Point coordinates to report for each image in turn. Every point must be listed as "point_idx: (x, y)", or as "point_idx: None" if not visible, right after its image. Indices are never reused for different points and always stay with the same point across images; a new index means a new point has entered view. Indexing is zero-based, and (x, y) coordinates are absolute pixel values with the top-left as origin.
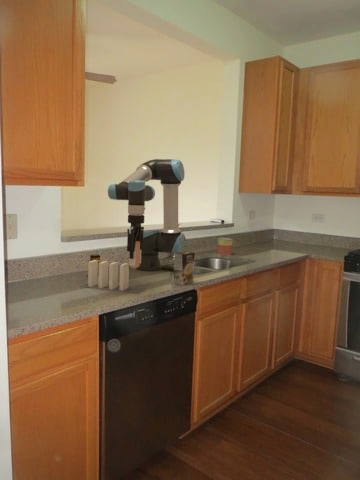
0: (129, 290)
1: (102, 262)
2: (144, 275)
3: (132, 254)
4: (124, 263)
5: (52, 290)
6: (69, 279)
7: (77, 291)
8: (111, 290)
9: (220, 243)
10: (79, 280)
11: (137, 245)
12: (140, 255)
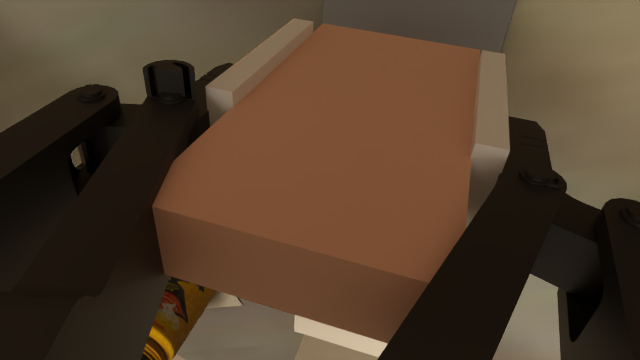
0: (436, 34)
1: (361, 340)
2: (9, 45)
3: (546, 160)
4: None
5: None
6: (283, 352)
7: None
8: None
9: None
10: (282, 320)
11: (310, 185)
12: (272, 57)
